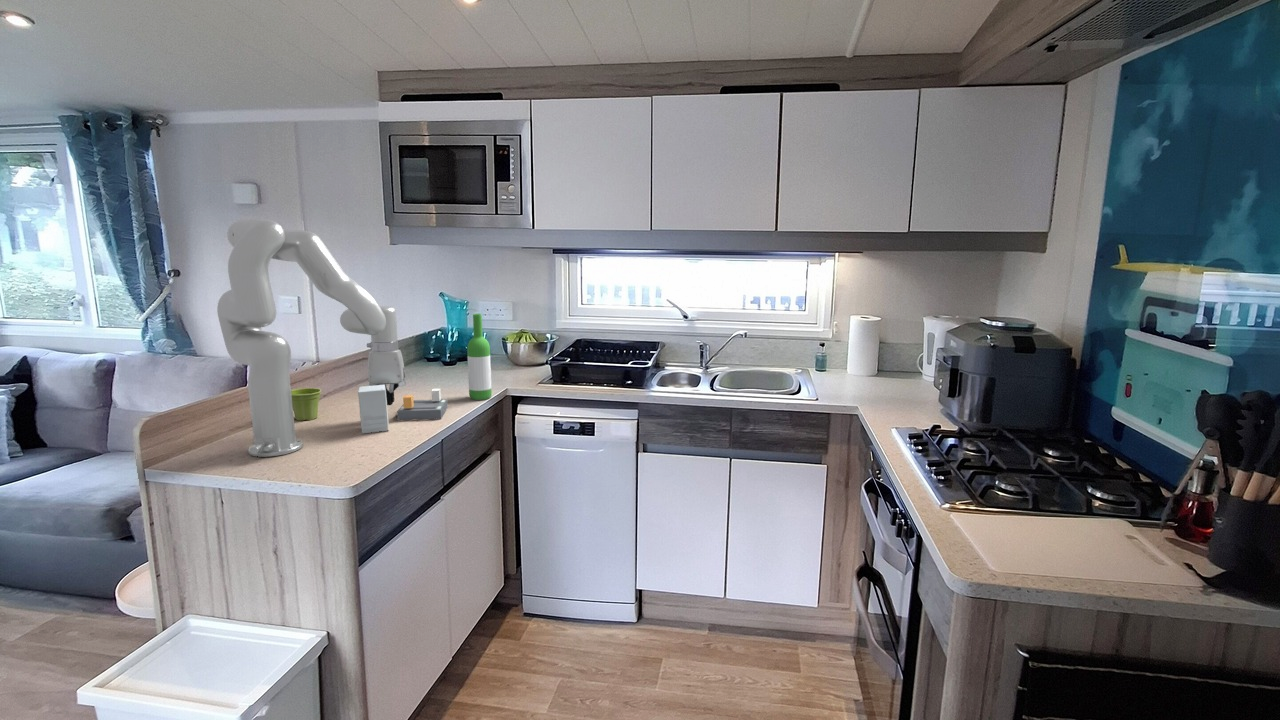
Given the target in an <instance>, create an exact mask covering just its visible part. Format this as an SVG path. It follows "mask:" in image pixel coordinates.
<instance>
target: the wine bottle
mask: <svg viewBox="0 0 1280 720" xmlns="http://www.w3.org/2000/svg"><path fill="white" fill-rule="evenodd" d="M482 316H483V315H482V313H473V314H472V319H473V320H472V322H473V323H472V325H473V337H472V338H471V339H470V340H469V341H468V344H467V346H466V347H467V374H468V375H467V377H468V395H469V398H470V399H471V400H474V401H483V400H488V399H490V398H491V397H492V368H491V346H490V342H489V341H488V340H487V338H485V337H484V336H483V334H484V333H483V319H482V318H483V317H482Z"/></svg>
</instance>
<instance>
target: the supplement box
mask: <svg viewBox="0 0 1280 720" xmlns="http://www.w3.org/2000/svg"><path fill="white" fill-rule="evenodd" d="M357 395H358V397H357V398H358V407H359V415H360V416H359V417H360V425H361V434H370V433H371V432H372V433H379V431H382V432H388V431H389V416H388V415H389V414H388V405H387V399H386V389H385V385H374V386H369V385H364V386H362V385H361V386H359V388H358V391H357ZM387 430H388V431H387Z"/></svg>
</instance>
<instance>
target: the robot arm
mask: <svg viewBox="0 0 1280 720" xmlns="http://www.w3.org/2000/svg"><path fill="white" fill-rule="evenodd" d="M226 234H227V235H226V236H227V240H228V243H229V244H230V245H231V246H232V247H233V248H232V250H231V252H230V254H229V257H228V263H227V274H228V277H229V278H228V279H229V284H230V289H228V290H226V292H224V293H223V294H222V295H221V296H220V298H219V300H218V302H217V309H216V310H217V311H216V313H217V317H218V322H219V326H220V329H221V333H222V337H223V341H224V344H225V348H226V350H227V353H228V355H229V356H230V357H231V358H232V360H233V361H235V362H236V363H238V364H241V365H245V366H248V367H249V374H248V379H247V389H248V390H247V391H248V399H249V408H250V416H251V424H252V433H253V442H254V444H251V446H249V447H248V450H247V453H248V455H250V456H252V457H257V456H258V457H259V458H262V457H263V458H264V457H265V458H266V457H267V458H269V457H278V456H284V455H287V454H291V453H294V452H296V451H298V450H300V449H302V448H303V446H304V443H303V442H304V441H303V440H301V439H299V438H296V436H297V435H296V427H295V419H294V418H295V415H294V411H293V406H292V395H291V390H292V389H291V375H290V374H291V373H290V369H291V361H292V351H291V347H290V344H289V342H288V341H287V340H286V339H285V338H284V337H283V336H282V335H280V334H278V333H275V332H271V331H265V330H262V328H266V327H268V326H270V325H272V323H274V322H275V320H276V317H277V307H276V304H275V299H274V294H273V289H272V287H271V286H272V285H271V280H270V274H269V265H270V262H271V260H278V261H283V262H292V263H293V262H295V263H297V264H298V266H299V267H300V268H301V270H302V271H303V272H304V274H305V275H306V276H307V277H308V279H309V280H310V281H311V283H312V284H313V286H315V289H316V290H317V291H319V292H321V293H322V294H323V295H325V296H327V297H328V298H330V299H332V300H335V301H336V302H338V303H340V304H342V305H343V306H345V307H346V309H345V310H344V311H343V312H342V313H341V314H340V316H339V322H340V325H341V327H342V328H343V329H344V330H346V331H347V332H350V333H354V334H360V335H361V334H362V335H367V336H370V340H371V341H370V342H367V343H366V348H370V349H371V351H369V352H368V359H367V360H368V361H367V379H368V384H369V385H368V386H374V385H385V389H386V399H387V406H392V405H393V404H394V402H395V390H397V388H400V387H405V385H406V384H407V382H406V370H405V364H404V359H403V355H402V354H403V353H402V351H401V349H399V341H398V324H397V323H398V322H397V321H398V320H397V311H396V309H395V307H393V306H391V305H390V306H389V305H379V304H378V302H377V301H376V299H375V298H374V297H373V296H372V295H371V294H370V293H369V292H368V291H367V290H366V289H365V288H364V287H362V286H361V285H360V284H358V283H357V281H355V280H354V279H352V278H351V277H350V276H349V275H347V273H346V272H345V270H344V269H343V268H342V267H341V265H340V264H339V263H338V260H336V258H335V257H334V256H333V254H332V253H331V251H330V250H329V248H328V247H327V246H326V244H325V243H324V241H323V240H322V238H320V237H319V235H318V234H316V233H314V232H312V231H310V230H291V229H290V230H288V229H284V228H283V226H282V225H281V224H280V223H278V222H277V221H275V220H272V219H266V218H255V219H253V218H252V219H248V218H247V219H240V220H236V221H234V222H233V223H231V224H230V226H229V227H228V229H227V232H226ZM387 385H388V386H389V387H387Z"/></svg>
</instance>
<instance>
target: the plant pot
mask: <svg viewBox="0 0 1280 720" xmlns="http://www.w3.org/2000/svg"><path fill="white" fill-rule="evenodd" d="M321 393H322V388H316V387H304V388H295V389H291V395H292V406H293V416H294V418H295V419H294V420H297V421H301V420H302V421H305V420H307V421H311V419H312V420H315V419H317V418H318V415H319V402H320V396H321Z"/></svg>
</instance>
